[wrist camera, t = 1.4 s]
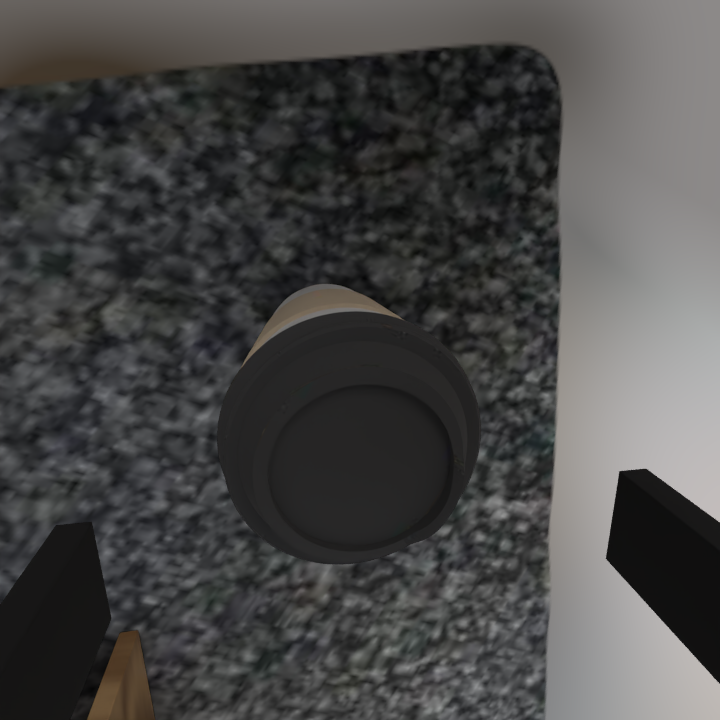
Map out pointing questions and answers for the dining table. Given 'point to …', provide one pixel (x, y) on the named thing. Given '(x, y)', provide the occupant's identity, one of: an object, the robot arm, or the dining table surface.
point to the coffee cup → (346, 430)
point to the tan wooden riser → (124, 684)
